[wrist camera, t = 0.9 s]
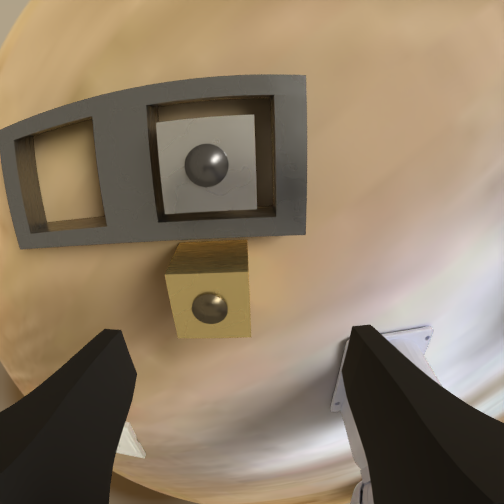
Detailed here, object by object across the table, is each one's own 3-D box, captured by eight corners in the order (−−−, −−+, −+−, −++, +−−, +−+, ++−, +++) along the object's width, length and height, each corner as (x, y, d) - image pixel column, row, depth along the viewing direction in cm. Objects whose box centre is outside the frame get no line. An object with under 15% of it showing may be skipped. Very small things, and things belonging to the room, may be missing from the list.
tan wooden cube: (249, 296, 19) (251, 338, 15) (188, 298, 19) (177, 339, 15) (247, 238, 18) (248, 273, 14) (180, 241, 17) (163, 276, 14)
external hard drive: (42, 396, 26) (130, 418, 26) (67, 430, 29) (146, 450, 30) (38, 405, 25) (127, 430, 25) (63, 439, 28) (144, 460, 28)
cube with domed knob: (254, 188, 16) (257, 210, 12) (182, 192, 16) (164, 215, 12) (251, 116, 15) (254, 114, 11) (177, 121, 15) (154, 122, 11)
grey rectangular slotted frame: (298, 221, 17) (305, 234, 15) (35, 237, 17) (20, 249, 15) (298, 80, 14) (305, 75, 12) (16, 127, 13) (-2, 130, 12)
